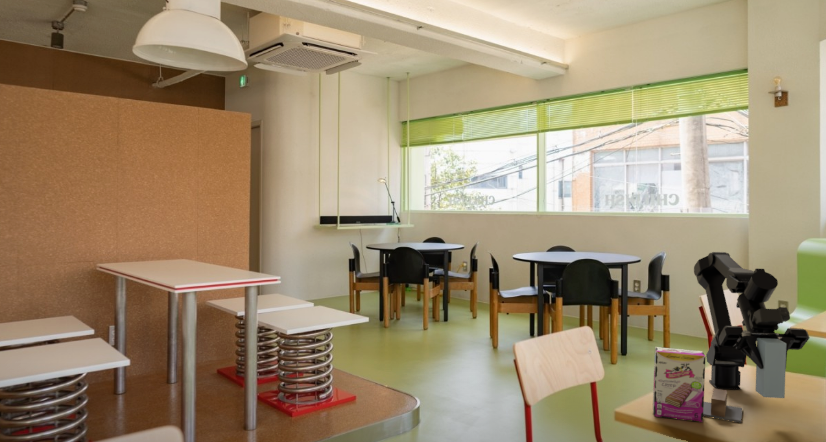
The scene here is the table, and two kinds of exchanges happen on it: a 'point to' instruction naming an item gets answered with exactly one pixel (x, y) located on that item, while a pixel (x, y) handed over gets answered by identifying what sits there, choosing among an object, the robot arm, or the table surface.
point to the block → (771, 368)
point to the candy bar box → (679, 384)
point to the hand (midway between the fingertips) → (773, 368)
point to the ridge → (719, 402)
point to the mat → (730, 413)
